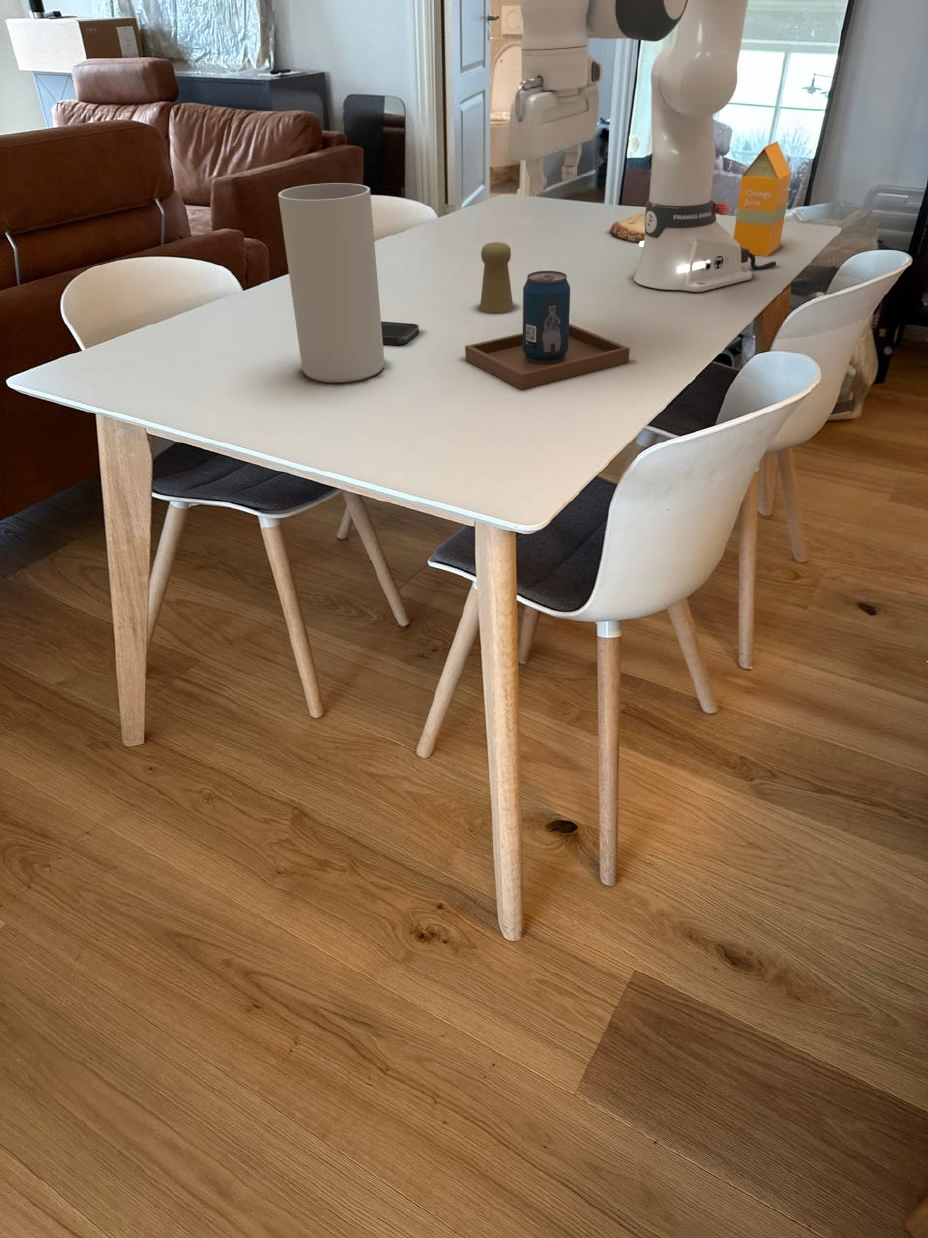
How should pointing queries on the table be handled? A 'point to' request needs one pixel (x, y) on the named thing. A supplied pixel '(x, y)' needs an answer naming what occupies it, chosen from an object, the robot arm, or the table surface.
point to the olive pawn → (496, 279)
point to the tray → (521, 372)
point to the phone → (398, 332)
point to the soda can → (546, 316)
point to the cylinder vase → (333, 280)
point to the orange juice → (763, 202)
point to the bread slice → (630, 229)
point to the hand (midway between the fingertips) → (554, 185)
